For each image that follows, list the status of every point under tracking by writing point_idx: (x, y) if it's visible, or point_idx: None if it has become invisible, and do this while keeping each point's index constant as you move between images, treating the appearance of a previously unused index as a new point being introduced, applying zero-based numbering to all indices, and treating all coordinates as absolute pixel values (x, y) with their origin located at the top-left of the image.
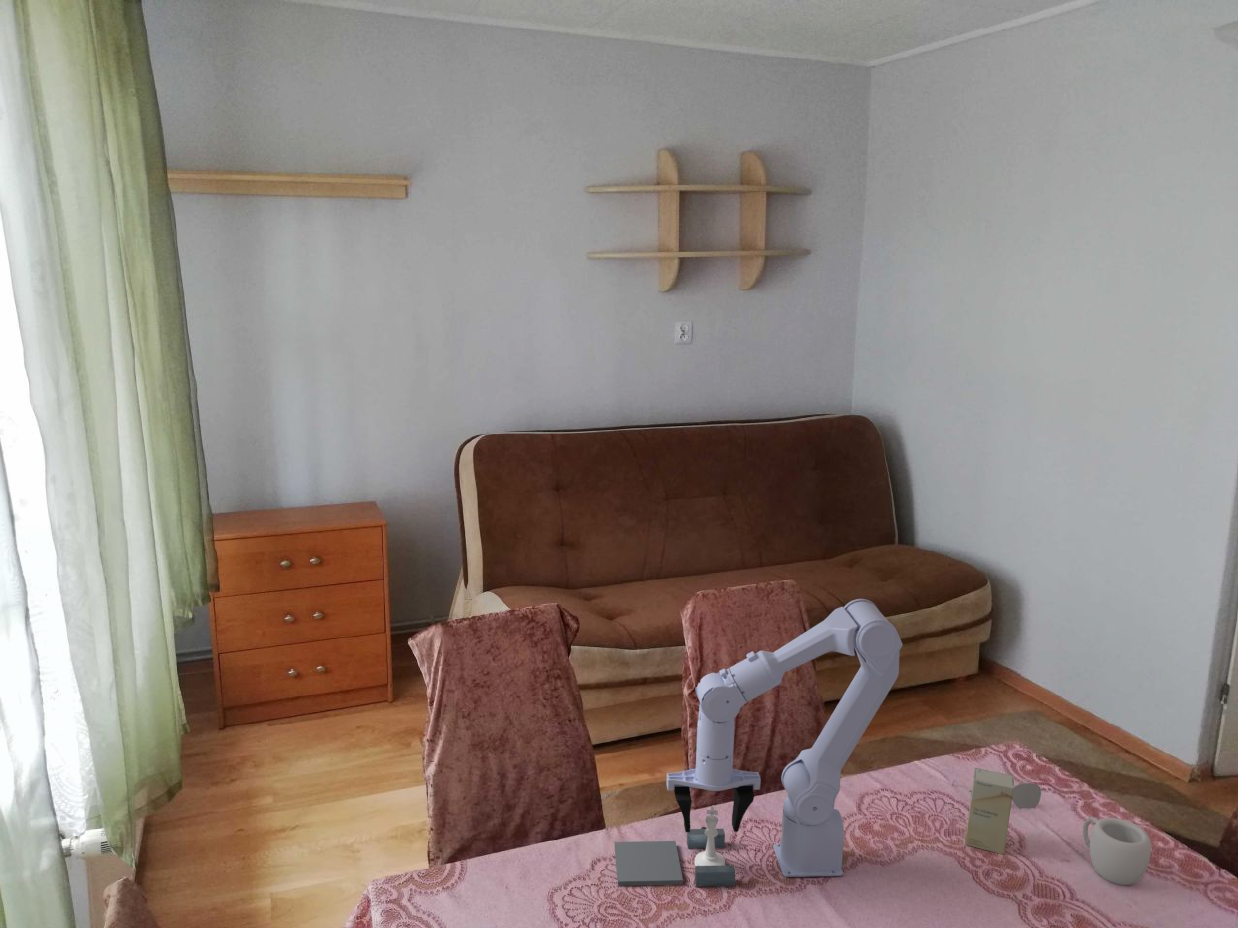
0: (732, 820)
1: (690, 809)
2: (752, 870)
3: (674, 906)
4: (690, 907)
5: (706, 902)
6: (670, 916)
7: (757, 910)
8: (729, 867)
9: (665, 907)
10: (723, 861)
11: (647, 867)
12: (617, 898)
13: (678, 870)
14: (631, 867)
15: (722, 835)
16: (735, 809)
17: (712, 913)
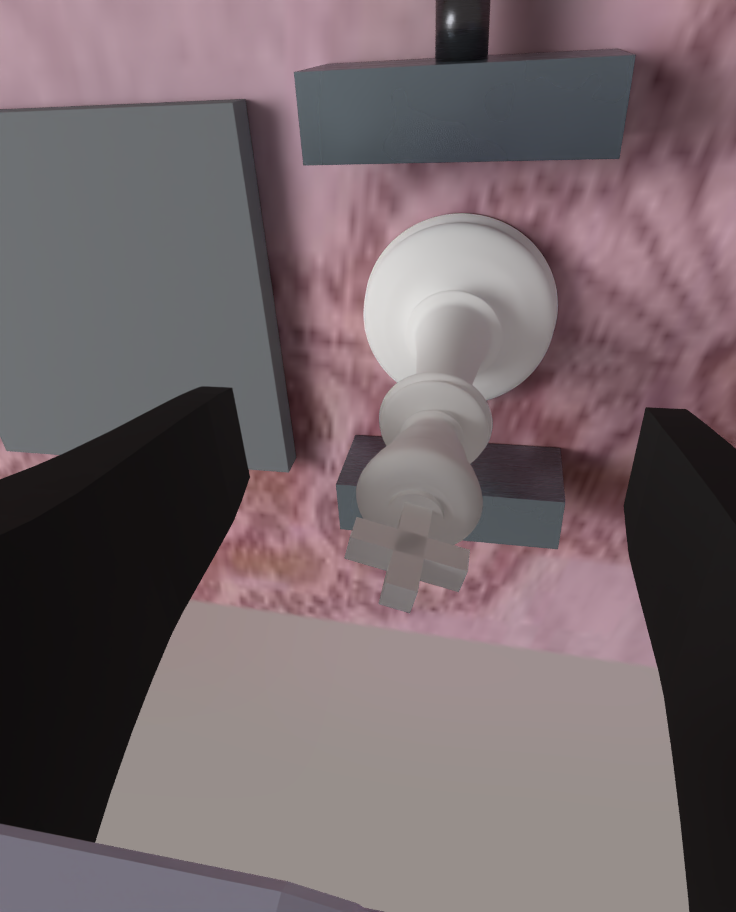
0: (649, 458)
1: (140, 706)
2: (711, 388)
3: (264, 563)
4: (327, 576)
5: None
6: (252, 601)
7: (608, 626)
8: (533, 516)
9: (230, 563)
10: (537, 353)
11: (108, 369)
12: None
13: (266, 404)
14: (32, 364)
15: (594, 157)
16: (688, 621)
17: (412, 612)
